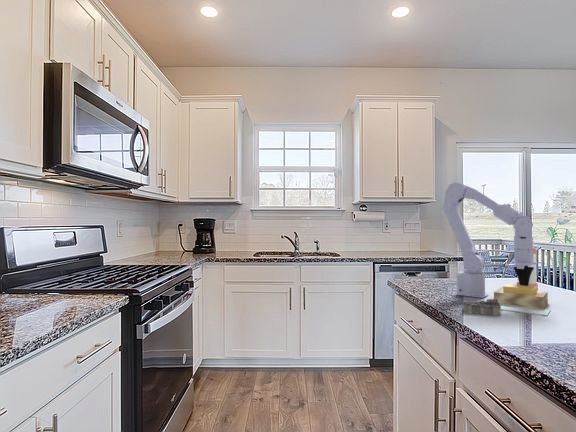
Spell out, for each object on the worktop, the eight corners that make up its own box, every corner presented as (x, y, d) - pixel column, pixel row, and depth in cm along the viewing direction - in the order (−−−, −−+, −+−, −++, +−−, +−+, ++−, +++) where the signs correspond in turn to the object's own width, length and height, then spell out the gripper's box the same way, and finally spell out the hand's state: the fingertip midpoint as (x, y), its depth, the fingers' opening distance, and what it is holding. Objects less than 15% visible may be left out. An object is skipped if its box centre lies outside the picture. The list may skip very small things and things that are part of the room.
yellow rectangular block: (503, 292, 127) (503, 286, 127) (506, 289, 132) (506, 284, 132) (534, 295, 121) (534, 289, 121) (537, 292, 126) (537, 286, 126)
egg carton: (499, 311, 118) (499, 298, 118) (501, 317, 111) (501, 303, 111) (462, 308, 122) (462, 295, 122) (462, 313, 116) (462, 300, 116)
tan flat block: (494, 303, 127) (493, 292, 127) (501, 298, 136) (501, 287, 136) (543, 309, 118) (542, 297, 118) (547, 303, 127) (547, 291, 127)
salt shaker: (542, 293, 145) (541, 244, 146) (523, 293, 145) (522, 244, 146) (530, 289, 152) (529, 243, 153) (512, 289, 153) (511, 243, 153)
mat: (481, 307, 122) (481, 306, 122) (487, 302, 129) (487, 302, 129) (547, 316, 110) (547, 315, 110) (550, 310, 117) (550, 309, 117)
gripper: (533, 251, 125) (534, 291, 124) (539, 248, 136) (540, 285, 135) (509, 250, 129) (510, 289, 129) (517, 247, 140) (517, 283, 140)
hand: (524, 287), depth 133 cm, fingers closed
